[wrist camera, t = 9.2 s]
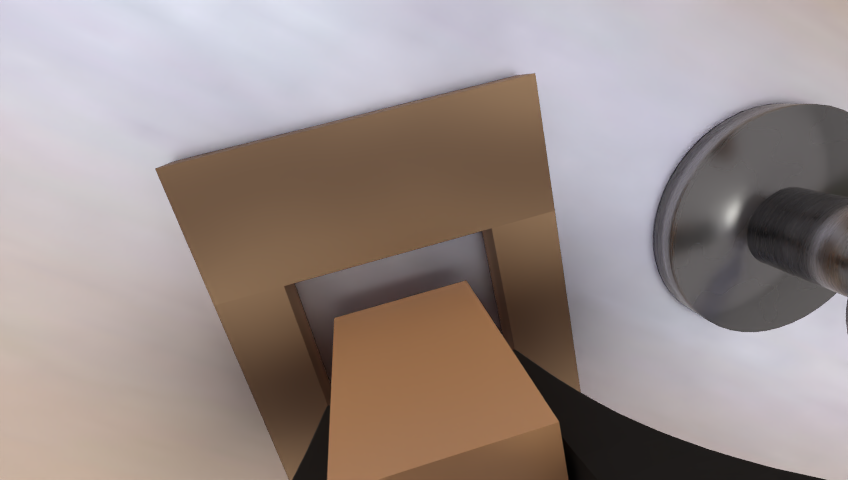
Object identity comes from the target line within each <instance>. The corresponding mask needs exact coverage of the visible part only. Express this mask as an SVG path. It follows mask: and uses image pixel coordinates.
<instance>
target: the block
mask: <svg viewBox="0 0 848 480" xmlns="http://www.w3.org/2000/svg"><path fill="white" fill-rule="evenodd" d="M327 480H569V479H568V473H567V467H566V461H565V455H564V449H563V442H562V436H561V430H560V424H559V421H558V419H557V418H556V416H555V415H554V413H553V412H552V410H551V409H550V407H549V406H548V404H547V403H546V401H545V400H544V398H543V397H542V395H541V394H540V392H539V390H538V389H537V387H536V386H535V384H534V383H533V381H532V380H531V378H530V377H529V375H528V374H527V372H526V371H525V369H524V368H523V366H522V365H521V363H520V362H519V360H518V358H517V357H516V355H515V354H514V352H513V351H512V349H511V348H510V346H509V345H508V343H507V342H506V340H505V339H504V337H503V336H502V334H501V333H500V331H499V330H498V328H497V326H496V325H495V323H494V322H493V320H492V319H491V317H490V316H489V314H488V313H487V311H486V310H485V308H484V307H483V305H482V304H481V302H480V301H479V299H478V298H477V296H476V295H475V293H474V291H473V290H472V288H471V287H470V285H469V284H468V282H467V281H462V282H459V283H455V284H452V285H448V286H445V287H441V288H438V289H434V290H431V291H427V292H424V293H420V294H417V295H413V296H410V297H406V298H403V299H399V300H396V301H392V302H389V303H385V304H382V305H378V306H375V307H371V308H368V309H364V310H361V311H357V312H354V313H350V314H347V315H343V316H340V317H336V318H334V336H333V359H332V381H331V404H330V427H329V449H328V472H327Z"/></svg>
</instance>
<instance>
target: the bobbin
mask: <svg viewBox="0 0 848 480" xmlns="http://www.w3.org/2000/svg"><path fill="white" fill-rule="evenodd" d="M654 251H655V258H656V263H657V266H658V270H659V273H660V275H661V277H662V279H663V282H664V284H665V285H666V287H667V288H668V290H669V291H670V293H671V294H672V295H673V296H674V297H675V298H676V299H677V300H678V301H679V302H681V303H682V304H683V305H685V306H686V307H687V308H689V309H691V310H692V311H694V312H695V313H697V314H699V315H700V316H702V317H703V318H705V319H707V320H708V321H710V322H712V323H714V324H716V325H718V326H720V327H723V328H726V329H729V330H734V331H740V332H759V331H767V330H771V329H775V328H779V327H782V326H785V325H787V324H790V323H793V322H795V321H797V320H799V319H801V318H803V317H805V316H807V315H808V314H810V313H811V312H813V311H814V310H816V309H818V308H819V307H820V306H822V305H823V304H824V303H825V302H827V301H828V300H829V299H830V298H831V297H833V296H834V295H835V294H836V293H839V294H841V295H844V296H846V297H848V112H846V111H844V110H842V109H839V108H835V107H832V106H827V105H818V104H769V105H764V106H759V107H755V108H752V109H749V110H746V111H743V112H741V113H739V114H737V115H735V116H733V117H730V118H728V119H727V120H725V121H724V122H722V123H721V124H719V125H718V126H716V127H715V128H713V129H712V130H711V131H710V132H709V133H707V134H706V135H705V136H704V137H702V138H701V139H700V140H699V141H698V143H697V144H696V145H695V146H694V147H693V148H692V149H691V150H690V151H689V152H688V154H687V155H686V156H685V157H684V159H683V160H682V161H681V162H680V164H679V166H678V167H677V169H676V170H675V172H674V173H673V175H672V177H671V179H670V181H669V183H668V185H667V187H666V189H665V191H664V194H663V196H662V199H661V202H660V205H659V208H658V213H657V217H656V222H655V230H654ZM846 325H847V333H848V300H847V307H846Z"/></svg>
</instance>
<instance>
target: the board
mask: <svg viewBox="0 0 848 480" xmlns="http://www.w3.org/2000/svg"><path fill="white" fill-rule="evenodd" d="M156 172H157V174H158V176H159V179H160V181H161V183H162V186H163V188H164V190H165V193H166V195H167V197H168V199H169V202H170V204H171V206H172V209H173V211H174V213H175V216H176V218H177V220H178V223H179V225H180V227H181V230H182V232H183V234H184V237H185V239H186V241H187V244H188V246H189V248H190V251H191V253H192V255H193V258H194V260H195V262H196V265H197V267H198V269H199V272H200V274H201V276H202V278H203V281H204V283H205V285H206V288H207V290H208V292H209V295H210V297H211V299H212V302H213V304H214V306H215V309H216V311H217V313H218V316H219V318H220V320H221V323H222V325H223V327H224V330H225V332H226V334H227V337H228V339H229V341H230V344H231V346H232V348H233V351H234V353H235V355H236V357H237V360H238V362H239V364H240V367H241V369H242V371H243V374H244V376H245V378H246V381H247V383H248V385H249V388H250V390H251V392H252V395H253V397H254V399H255V402H256V404H257V406H258V409H259V411H260V413H261V416H262V418H263V420H264V423H265V425H266V427H267V430H268V432H269V434H270V436H271V439H272V441H273V443H274V446H275V448H276V450H277V453H278V455H279V457H280V460H281V462H282V464H283V467H284V469H285V471H286V474H287V476H288V478H289V480H292V479H293V477H294V475H295V473H296V471H297V469H298V467H299V465H300V463H301V461H302V459H303V457H304V455H305V453H306V451H307V449H308V447H309V444H310V442H311V440H312V438H313V436H314V433H315V431H316V429H317V427H318V424H319V422H320V420H321V418H322V415H323V413H324V411H325V409H326V408H327V406H328V405H330V404H331V384H330V382H329V379H328V376H327V373H326V371H325V368H324V365H323V362H322V359H321V357H320V354H319V351H318V348H317V345H316V343H315V340H314V337H313V334H312V332H311V329H310V326H309V323H308V320H307V318H306V315H305V312H304V309H303V306H302V304H301V301H300V298H299V295H298V292H297V290H296V287H295V284H294V283H297V282H300V281H304V280H308V279H311V278H315V277H318V276H322V275H326V274H329V273H333V272H336V271H340V270H344V269H347V268H351V267H354V266H358V265H362V264H365V263H369V262H372V261H376V260H380V259H383V258H387V257H390V256H394V255H398V254H401V253H405V252H408V251H412V250H416V249H419V248H423V247H426V246H430V245H434V244H437V243H441V242H444V241H448V240H451V239H455V238H459V237H462V236H466V235H469V234H473V233H477V232H480V231H482V234H483V239H484V244H485V249H486V254H487V259H488V264H489V269H490V274H491V279H492V284H493V289H494V294H495V299H496V304H497V309H498V314H499V319H500V324H501V329H502V334H503V337H504V339H505V340H506V342H507V343H508V345H509V346H510V348H511V349H512V350H514V349H515V350H517V351H519V352H520V353H522V354H523V355H524V356H526V357H527V358H529V359H530V360H531V361H533V362H534V363H536V364H537V365H539V366H540V367H541V368H543V369H544V370H546V371H547V372H549V373H550V374H552V375H553V376H555V377H556V378H558V379H559V380H561V381H563V382H564V383H566V384H568V385H569V386H571V387H572V388H574V389H576V390H577V391H579V392H580V385H579V378H578V371H577V364H576V357H575V350H574V343H573V336H572V329H571V322H570V315H569V308H568V301H567V294H566V287H565V280H564V273H563V266H562V259H561V252H560V245H559V238H558V230H557V223H556V216H555V209H554V202H553V195H552V188H551V181H550V174H549V167H548V160H547V153H546V146H545V139H544V132H543V125H542V118H541V111H540V104H539V97H538V90H537V83H536V76H535V73H534V74H525V75H517V76H513V77H509V78H505V79H501V80H497V81H493V82H489V83H485V84H481V85H477V86H473V87H469V88H465V89H461V90H457V91H453V92H449V93H445V94H441V95H437V96H433V97H429V98H425V99H421V100H417V101H413V102H409V103H405V104H401V105H397V106H393V107H389V108H385V109H381V110H377V111H373V112H369V113H365V114H361V115H357V116H353V117H349V118H345V119H341V120H337V121H333V122H329V123H325V124H321V125H317V126H313V127H309V128H305V129H301V130H297V131H293V132H289V133H285V134H281V135H277V136H273V137H269V138H265V139H261V140H257V141H253V142H250V143H246V144H242V145H238V146H234V147H230V148H226V149H222V150H218V151H214V152H210V153H206V154H202V155H198V156H194V157H190V158H186V159H182V160H178V161H174V162H171V163H169V164H166V165H164V166H161V167H159V168H156Z"/></svg>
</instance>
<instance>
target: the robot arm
mask: <svg viewBox="0 0 848 480" xmlns="http://www.w3.org/2000/svg"><path fill="white" fill-rule="evenodd" d="M512 351H513V352H514V354H515V355H516V357H517V358H518V360H519V362H520V363H521V365H522V366H523V368H524V369H525V371H526V372H527V374H528V375H529V377H530V378H531V380H532V381H533V383H534V384H535V386H536V387H537V389H538V390H539V392H540V394H541V395H542V397H543V398H544V400H545V401H546V403H547V404H548V406H549V407H550V409H551V410H552V412H553V413H554V415H555V416H556V418H557V419H558V421H559V424H560V430H561V436H562V442H563V449H564V455H565V461H566V467H567V473H568V479H569V480H825V479H821V478H816V477H812V476H807V475H803V474H798V473H793V472H789V471H784V470H780V469H775V468H772V467H768V466H764V465H760V464H757V463H753V462H750V461H746V460H742V459H739V458H735V457H732V456H728V455H725V454H722V453H719V452H716V451H712V450H709V449H706V448H703V447H700V446H698V445H695V444H692V443H689V442H686V441H684V440H681V439H678V438H675V437H672V436H670V435H667V434H665V433H662V432H660V431H657V430H655V429H652V428H650V427H648V426H646V425H643V424H641V423H639V422H637V421H634V420H632V419H630V418H627V417H625V416H623V415H621V414H619V413H617V412H615V411H613V410H611V409H609V408H607V407H605V406H604V405H602V404H600V403H598V402H596V401H594V400H593V399H591V398H589V397H587V396H586V395H584V394H582V393H581V392H579V391H577V390H576V389H574V388H572V387H571V386H569V385H568V384H566V383H564V382H563V381H561V380H559V379H558V378H556V377H555V376H553V375H552V374H550V373H549V372H547V371H546V370H544V369H543V368H541V367H540V366H539V365H537V364H536V363H534V362H533V361H531V360H530V359H529V358H527V357H526V356H524V355H523V354H522V353H520V352H519V351H517V350H515V349H514V350H512ZM329 427H330V405H328V406H327V408H326V409H325V411H324V413H323V415H322V418H321V420H320V422H319V424H318V427H317V429H316V431H315V433H314V436H313V438H312V440H311V442H310V444H309V447H308V449H307V451H306V453H305V455H304V457H303V459H302V461H301V463H300V465H299V467H298V469H297V471H296V473H295V475H294V477H293V479H292V480H327V472H328V449H329Z"/></svg>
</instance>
